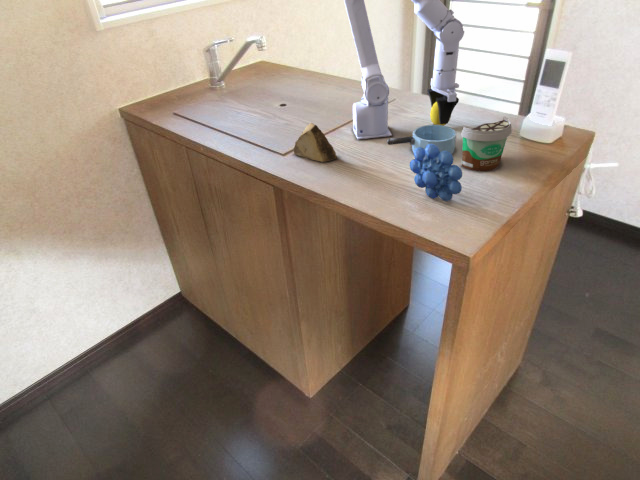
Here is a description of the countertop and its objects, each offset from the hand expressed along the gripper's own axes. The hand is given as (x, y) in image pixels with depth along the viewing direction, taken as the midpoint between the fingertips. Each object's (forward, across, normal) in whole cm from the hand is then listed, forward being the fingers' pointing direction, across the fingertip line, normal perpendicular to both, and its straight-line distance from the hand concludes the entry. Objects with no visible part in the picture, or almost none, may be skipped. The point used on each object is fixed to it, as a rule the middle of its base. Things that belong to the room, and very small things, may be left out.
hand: (440, 119), depth 122 cm
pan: (+2, -13, +6) cm, 15 cm away
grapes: (+3, -36, +14) cm, 39 cm away
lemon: (+3, 0, 0) cm, 3 cm away
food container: (+3, -25, -3) cm, 25 cm away
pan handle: (0, -13, +14) cm, 19 cm away
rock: (+3, -10, +36) cm, 37 cm away
